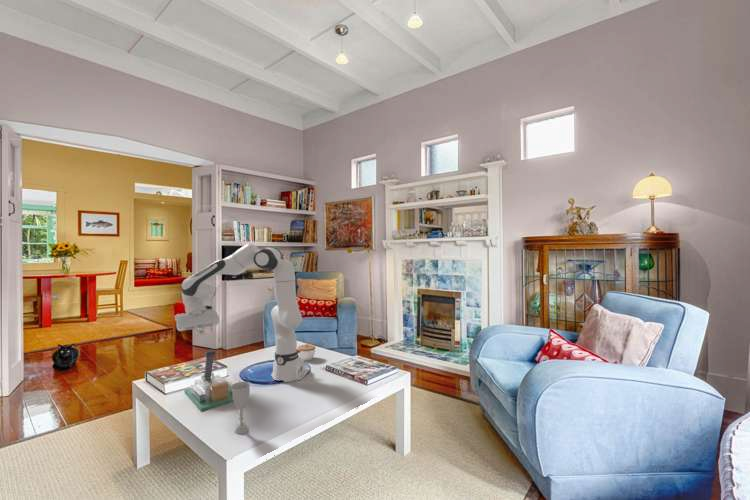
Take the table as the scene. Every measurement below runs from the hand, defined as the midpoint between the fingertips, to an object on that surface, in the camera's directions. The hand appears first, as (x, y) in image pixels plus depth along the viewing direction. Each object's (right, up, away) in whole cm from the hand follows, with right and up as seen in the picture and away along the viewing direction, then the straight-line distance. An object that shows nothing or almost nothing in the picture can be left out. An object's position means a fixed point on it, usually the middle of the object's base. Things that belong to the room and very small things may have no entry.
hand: (201, 334), depth 181 cm
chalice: (+36, -28, -42) cm, 62 cm away
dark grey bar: (+8, -13, -9) cm, 18 cm away
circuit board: (+11, -27, -11) cm, 31 cm away
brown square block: (+17, -26, -18) cm, 36 cm away
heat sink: (+11, -26, -11) cm, 30 cm away
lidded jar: (+46, -26, +41) cm, 66 cm away
